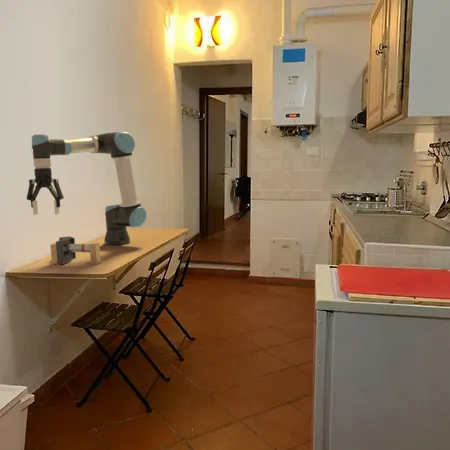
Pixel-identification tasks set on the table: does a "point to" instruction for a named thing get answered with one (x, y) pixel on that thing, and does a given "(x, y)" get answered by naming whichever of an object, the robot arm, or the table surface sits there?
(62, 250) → the collar
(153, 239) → the table surface
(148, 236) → the table surface
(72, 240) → the box
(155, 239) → the table surface
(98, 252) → the pipe
